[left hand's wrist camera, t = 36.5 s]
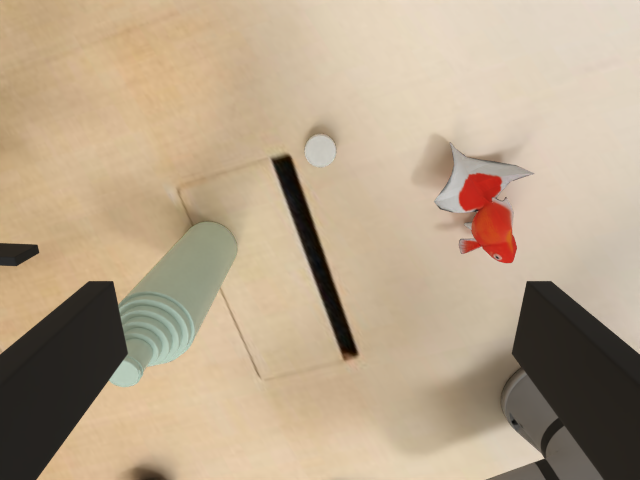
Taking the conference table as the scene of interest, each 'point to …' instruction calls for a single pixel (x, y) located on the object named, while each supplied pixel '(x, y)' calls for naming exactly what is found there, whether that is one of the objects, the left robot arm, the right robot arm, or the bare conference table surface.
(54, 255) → the conference table surface
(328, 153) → the cap
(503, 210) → the fish
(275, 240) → the conference table surface
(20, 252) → the right robot arm
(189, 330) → the bottle
